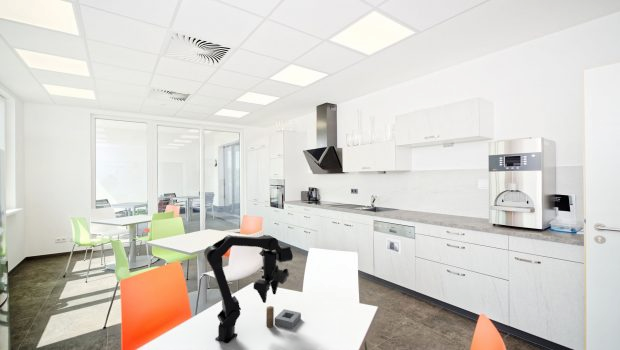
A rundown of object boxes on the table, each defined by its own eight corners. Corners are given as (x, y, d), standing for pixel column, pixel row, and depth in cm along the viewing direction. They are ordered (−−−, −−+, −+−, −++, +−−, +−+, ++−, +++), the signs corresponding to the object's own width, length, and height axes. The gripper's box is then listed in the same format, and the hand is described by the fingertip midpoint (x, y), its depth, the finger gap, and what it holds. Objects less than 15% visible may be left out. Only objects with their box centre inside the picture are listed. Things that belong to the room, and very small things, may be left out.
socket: (292, 329, 121) (292, 322, 121) (274, 324, 124) (274, 318, 124) (300, 319, 129) (300, 312, 129) (284, 315, 133) (284, 309, 133)
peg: (271, 328, 122) (271, 310, 122) (265, 326, 123) (265, 308, 123) (274, 324, 124) (274, 307, 124) (268, 323, 126) (268, 305, 126)
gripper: (276, 273, 113) (275, 310, 113) (294, 260, 130) (294, 293, 130) (253, 269, 117) (252, 306, 117) (273, 257, 134) (273, 289, 134)
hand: (269, 298), depth 124 cm, fingers open, 9 cm apart
